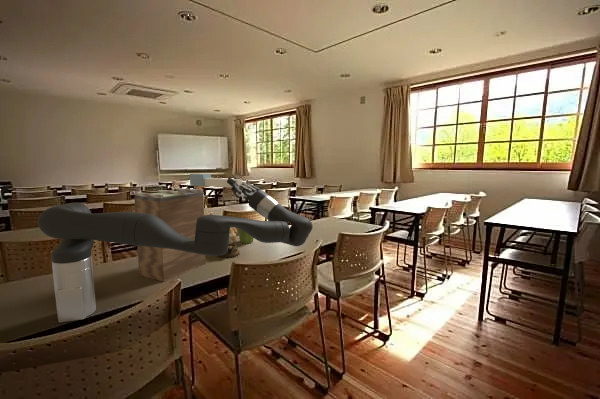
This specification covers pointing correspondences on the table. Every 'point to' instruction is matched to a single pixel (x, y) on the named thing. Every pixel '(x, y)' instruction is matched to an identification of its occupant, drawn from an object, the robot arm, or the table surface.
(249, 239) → the plant pot
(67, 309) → the robot arm
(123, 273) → the table surface
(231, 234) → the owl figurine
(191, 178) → the blue and beige bar
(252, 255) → the table surface
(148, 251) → the tall wood grain pillar
